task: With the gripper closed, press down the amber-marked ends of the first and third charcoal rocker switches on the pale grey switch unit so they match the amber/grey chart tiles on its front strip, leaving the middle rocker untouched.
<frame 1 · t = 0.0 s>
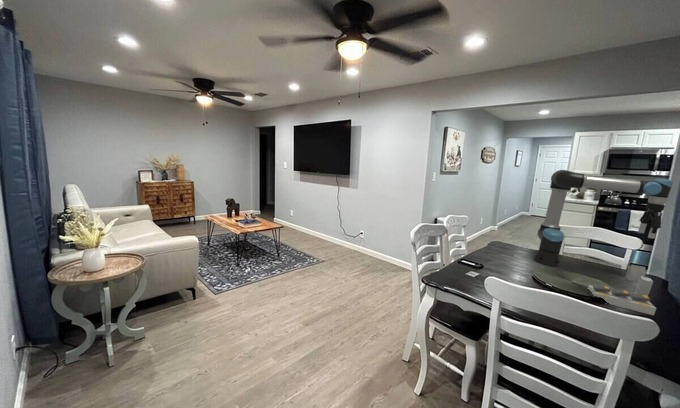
hand: (645, 235, 176), 28 cm above the table, fingers open, 13 cm apart
grey box: (633, 280, 173), on the table
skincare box: (639, 299, 150), on the table
rocker 3: (640, 297, 139), point 6 cm above the table, hinge at -10.0°
switch unit: (617, 302, 143), on the table
rocker 1: (601, 288, 146), point 6 cm above the table, hinge at -10.0°
rocker 2: (620, 292, 142), point 6 cm above the table, hinge at -10.0°
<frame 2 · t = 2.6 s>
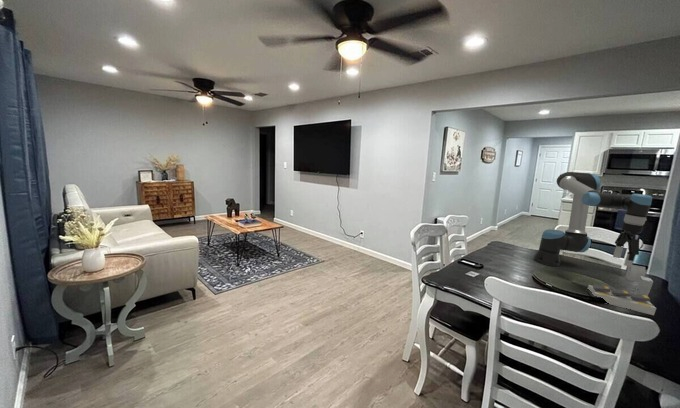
hand: (621, 261, 146), 20 cm above the table, fingers open, 13 cm apart
nothing on the table moved.
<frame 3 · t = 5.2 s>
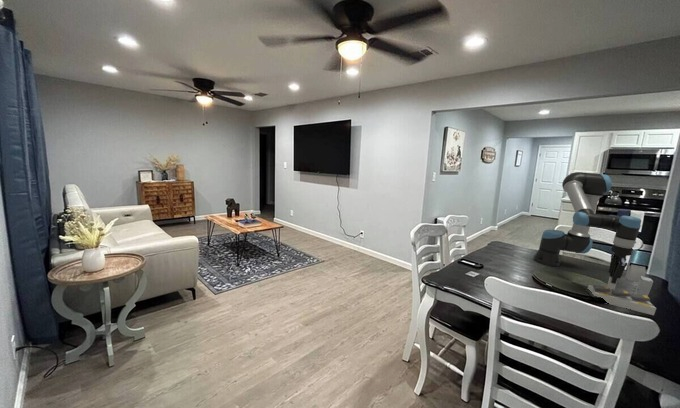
hand: (610, 288, 144), 7 cm above the table, fingers closed
rocker 1: (601, 288, 146), point 6 cm above the table, hinge at -7.5°, touching gripper
everything else where it was.
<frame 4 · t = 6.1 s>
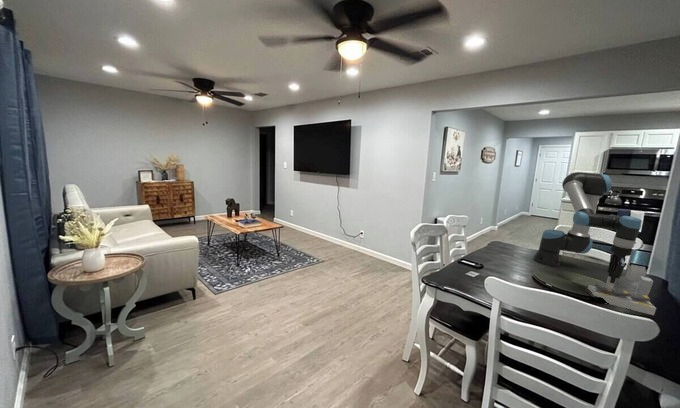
hand: (609, 287, 145), 7 cm above the table, fingers closed
rocker 1: (603, 288, 145), point 6 cm above the table, hinge at 15.1°, touching switch unit
everything else where it was.
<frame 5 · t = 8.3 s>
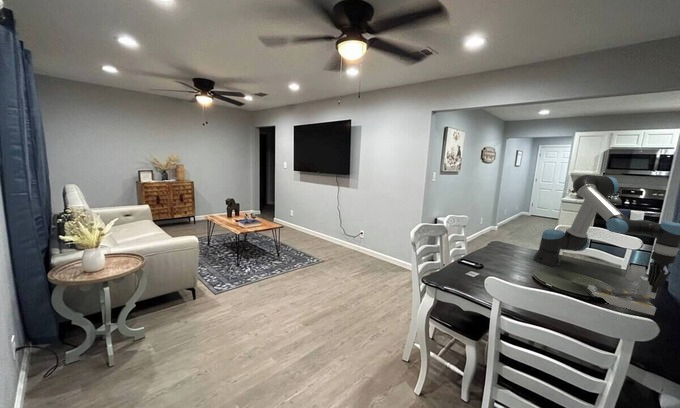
hand: (650, 297, 137), 7 cm above the table, fingers closed
rocker 3: (640, 297, 139), point 6 cm above the table, hinge at -7.3°, touching gripper
rocker 1: (603, 288, 146), point 6 cm above the table, hinge at 14.7°
everything else where it was.
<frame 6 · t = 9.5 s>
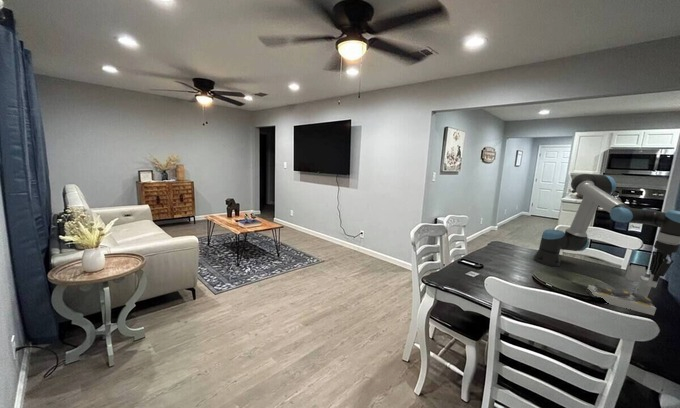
hand: (651, 286, 137), 13 cm above the table, fingers closed
rocker 3: (641, 297, 139), point 6 cm above the table, hinge at 12.6°
everything else where it was.
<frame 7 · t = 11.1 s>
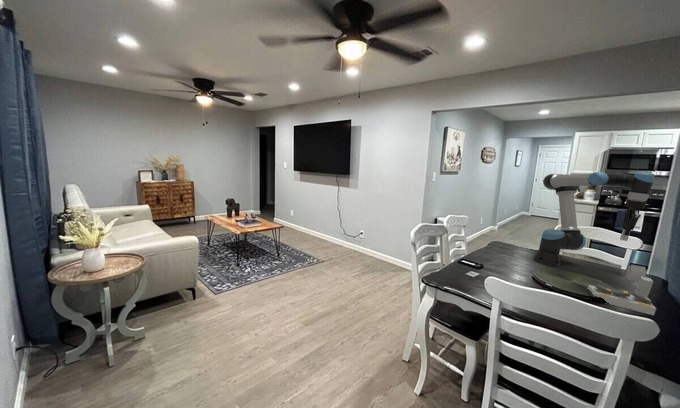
hand: (623, 240, 156), 29 cm above the table, fingers closed
rocker 3: (641, 297, 139), point 6 cm above the table, hinge at 13.3°
everything else where it was.
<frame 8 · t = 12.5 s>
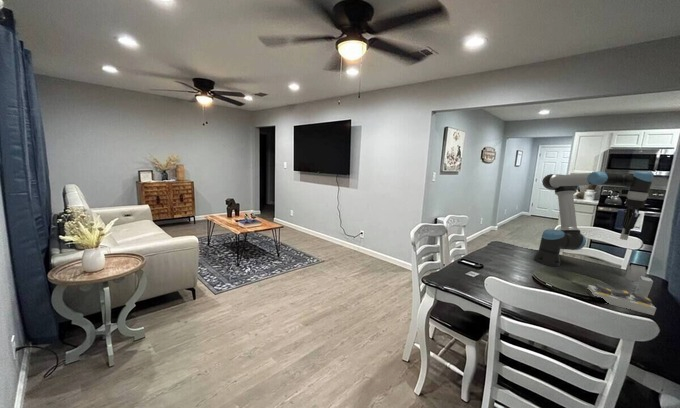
hand: (623, 239, 156), 29 cm above the table, fingers closed
nothing on the table moved.
at the end: rocker 1 at +15° (first picture: -10°); rocker 3 at +13° (first picture: -10°); rocker 2 at -10° (first picture: -10°) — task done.
